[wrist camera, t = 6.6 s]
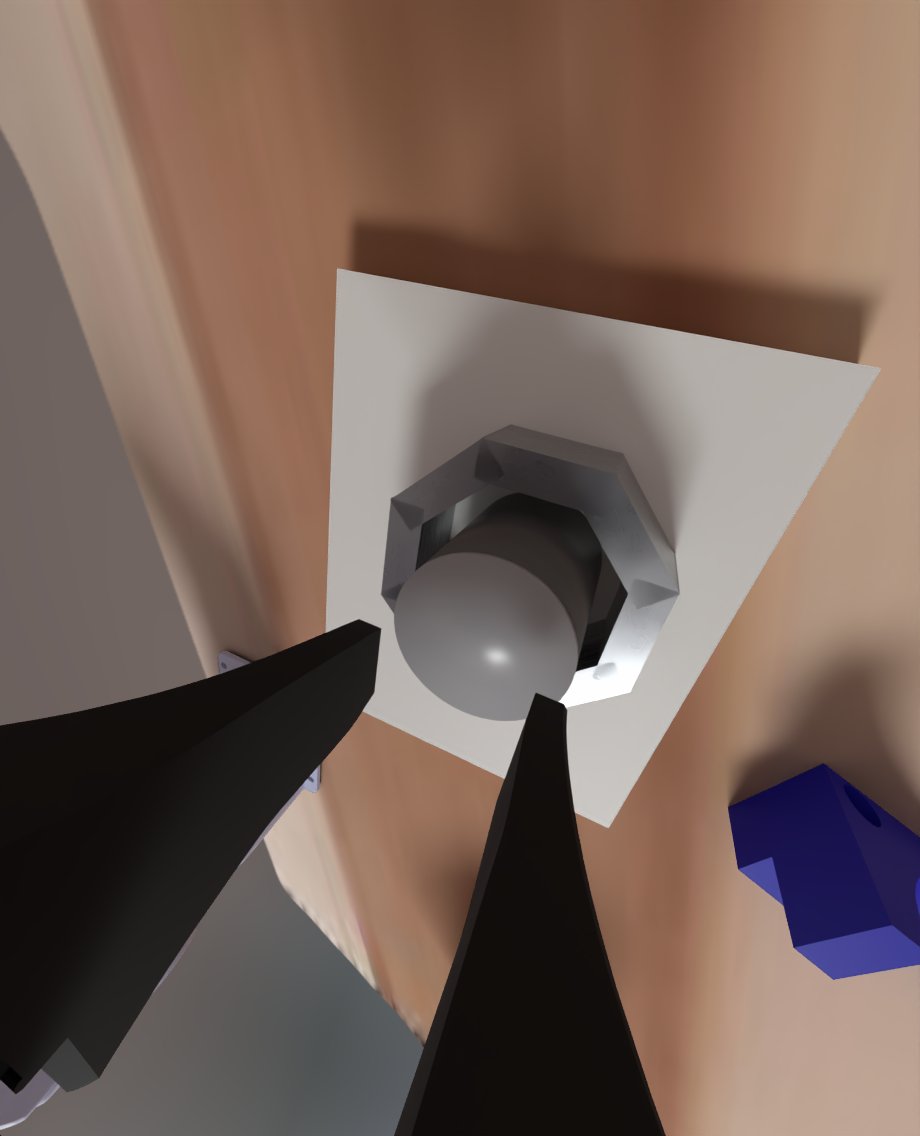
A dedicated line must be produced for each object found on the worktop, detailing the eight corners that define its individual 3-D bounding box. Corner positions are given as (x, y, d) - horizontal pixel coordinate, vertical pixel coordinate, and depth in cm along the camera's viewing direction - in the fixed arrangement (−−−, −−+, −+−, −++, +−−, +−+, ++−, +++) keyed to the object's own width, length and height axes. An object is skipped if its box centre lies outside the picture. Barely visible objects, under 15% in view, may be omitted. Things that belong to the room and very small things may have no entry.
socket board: (611, 801, 22) (602, 893, 18) (339, 676, 26) (286, 731, 22) (857, 367, 12) (950, 370, 8) (362, 275, 16) (272, 249, 12)
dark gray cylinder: (577, 633, 17) (545, 748, 12) (460, 589, 18) (386, 677, 13) (622, 515, 15) (606, 597, 10) (483, 474, 16) (404, 528, 11)
